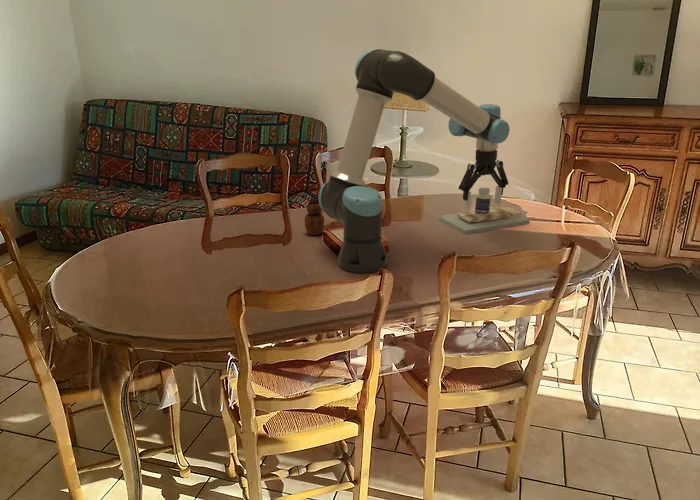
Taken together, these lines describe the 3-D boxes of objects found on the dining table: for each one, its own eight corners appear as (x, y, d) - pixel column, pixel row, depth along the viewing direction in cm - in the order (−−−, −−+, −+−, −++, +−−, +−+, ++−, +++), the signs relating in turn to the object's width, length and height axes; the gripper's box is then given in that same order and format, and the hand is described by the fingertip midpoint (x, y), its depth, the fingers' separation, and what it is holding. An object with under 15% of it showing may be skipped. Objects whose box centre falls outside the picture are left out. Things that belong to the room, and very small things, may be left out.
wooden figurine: (325, 231, 212) (324, 191, 207) (323, 236, 207) (321, 195, 201) (306, 230, 213) (305, 190, 207) (304, 236, 207) (302, 195, 202)
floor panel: (465, 234, 208) (465, 227, 207) (438, 219, 223) (438, 212, 222) (529, 223, 218) (529, 216, 217) (499, 210, 234) (499, 203, 233)
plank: (469, 222, 213) (469, 219, 213) (457, 216, 220) (457, 213, 220) (510, 217, 220) (510, 214, 220) (496, 211, 227) (497, 208, 226)
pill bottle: (490, 216, 216) (493, 190, 213) (475, 216, 217) (478, 190, 213) (487, 212, 222) (490, 186, 218) (473, 211, 222) (475, 186, 218)
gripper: (463, 154, 202) (459, 213, 210) (521, 147, 212) (516, 204, 219) (451, 150, 209) (447, 207, 217) (508, 144, 218) (503, 199, 226)
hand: (482, 206), depth 218 cm, fingers open, 13 cm apart
